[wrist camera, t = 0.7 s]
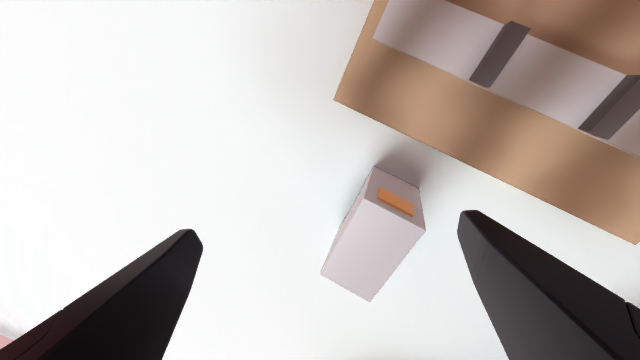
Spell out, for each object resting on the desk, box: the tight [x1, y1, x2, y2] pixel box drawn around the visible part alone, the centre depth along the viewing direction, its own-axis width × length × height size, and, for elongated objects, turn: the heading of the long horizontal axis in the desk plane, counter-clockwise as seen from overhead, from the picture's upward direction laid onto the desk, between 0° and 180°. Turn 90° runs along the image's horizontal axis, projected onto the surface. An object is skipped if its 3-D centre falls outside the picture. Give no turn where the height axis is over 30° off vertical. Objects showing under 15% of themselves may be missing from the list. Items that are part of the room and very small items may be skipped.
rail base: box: [333, 0, 640, 245], centre depth 14 cm, size 22×12×3 cm, turn 68°
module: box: [320, 166, 426, 302], centre depth 19 cm, size 4×7×6 cm, turn 158°
